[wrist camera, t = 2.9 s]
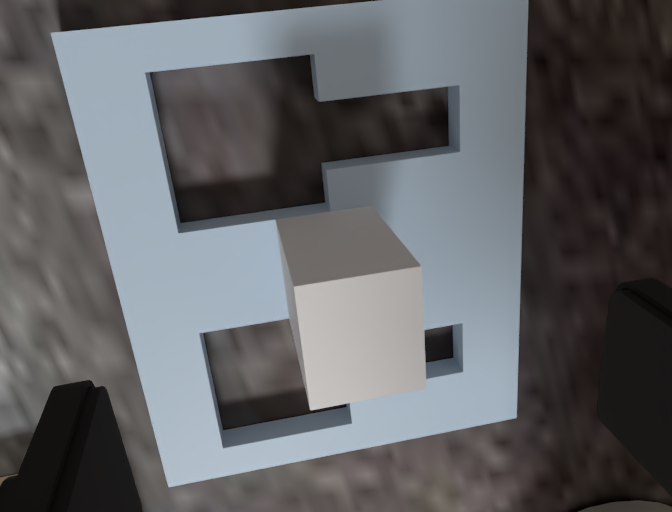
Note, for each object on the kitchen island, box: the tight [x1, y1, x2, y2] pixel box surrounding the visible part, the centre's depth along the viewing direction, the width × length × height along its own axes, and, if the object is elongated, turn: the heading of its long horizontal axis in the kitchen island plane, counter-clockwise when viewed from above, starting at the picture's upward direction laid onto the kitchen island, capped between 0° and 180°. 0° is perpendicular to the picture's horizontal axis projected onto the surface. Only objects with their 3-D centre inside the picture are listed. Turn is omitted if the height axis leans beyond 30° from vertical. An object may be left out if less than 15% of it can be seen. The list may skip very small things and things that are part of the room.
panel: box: [51, 0, 528, 487], centre depth 17 cm, size 13×15×6 cm
